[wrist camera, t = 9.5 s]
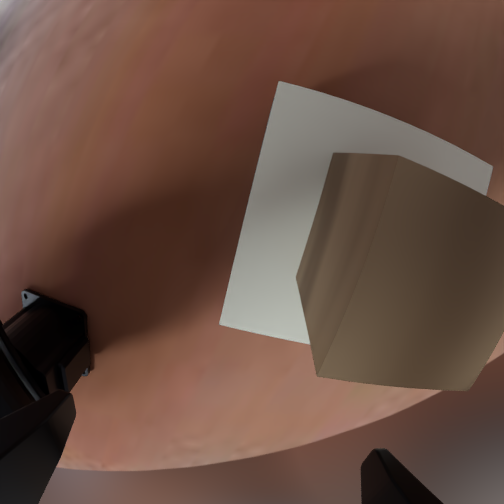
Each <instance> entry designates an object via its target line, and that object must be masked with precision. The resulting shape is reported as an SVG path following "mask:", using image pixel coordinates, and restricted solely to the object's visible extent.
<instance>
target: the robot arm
mask: <svg viewBox="0 0 504 504" xmlns="http://www.w3.org/2000/svg"><path fill="white" fill-rule="evenodd" d="M22 303H23V309H22V310H21V311H19V312H18V313H17V314H16V315H14V316H13V317H12V318H11V319H9V320H8V321H7V322H6V323H4V324H2V322H1V320H0V504H38V503H39V501H40V499H41V497H42V495H43V493H44V490H45V488H46V486H47V484H48V482H49V480H50V478H51V476H52V474H53V472H54V470H55V468H56V466H57V464H58V462H59V460H60V458H61V455H62V453H63V450H64V447H65V444H66V441H67V439H68V436H69V433H70V431H71V428H72V425H73V423H74V420H75V417H76V409H75V404H74V399H73V395H72V394H71V393H69V392H70V391H71V390H72V388H73V387H74V385H75V384H76V383H77V381H78V380H79V378H80V377H81V376H87V375H88V374H89V373H90V366H89V365H90V363H91V362H90V348H89V339H88V337H87V316H86V313H85V312H84V311H83V310H81V309H78V308H75V307H73V306H70V305H67V304H65V303H62V302H59V301H57V300H54V299H52V298H49V297H46V296H44V295H41V294H39V293H36V292H34V291H32V290H29V289H25V290H24V291H22ZM79 315H80V316H81V318H80V317H79ZM361 497H362V504H443V503H442V502H441V501H440V500H439V499H438V498H437V497H436V496H435V495H434V494H432V492H431V491H429V490H428V489H427V488H426V487H425V486H424V485H423V484H422V483H421V482H420V481H419V480H418V479H417V478H416V477H415V476H414V475H413V474H412V473H411V472H410V471H409V470H408V469H407V468H405V466H404V465H402V464H401V463H400V462H399V461H398V460H397V459H396V458H395V457H394V456H393V455H392V454H391V453H390V452H389V451H388V450H387V449H385V448H376V449H373V450H372V451H371V452H370V454H369V455H368V456H367V458H366V459H365V460H364V461H363V463H362V465H361Z"/></svg>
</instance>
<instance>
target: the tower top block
mask: <svg viewBox="0 0 504 504" xmlns="http://www.w3.org/2000/svg"><path fill="white" fill-rule="evenodd" d="M333 153H365V154H385V155H399V156H402V157H404V158H407V159H409V160H411V161H414V162H416V163H418V164H421V165H423V166H425V167H428V168H430V169H432V170H434V171H436V172H439V173H441V174H443V175H445V176H447V177H449V178H451V179H453V180H456V181H458V182H460V183H462V184H464V185H466V186H468V187H470V188H472V189H474V190H475V191H477V192H479V193H481V194H483V195H485V196H486V194H487V190H488V186H489V182H490V178H491V174H492V169H493V166H491V165H490V164H488V163H486V162H484V161H483V160H481V159H479V158H477V157H475V156H474V155H472V154H470V153H468V152H466V151H464V150H462V149H461V148H459V147H457V146H455V145H453V144H451V143H449V142H447V141H445V140H443V139H441V138H439V137H436V136H434V135H432V134H430V133H428V132H426V131H424V130H421V129H419V128H417V127H415V126H412V125H410V124H408V123H405V122H403V121H400V120H398V119H396V118H393V117H391V116H388V115H386V114H383V113H380V112H378V111H375V110H373V109H370V108H367V107H364V106H362V105H359V104H356V103H353V102H350V101H347V100H344V99H341V98H338V97H335V96H332V95H328V94H325V93H322V92H318V91H315V90H312V89H308V88H304V87H301V86H297V85H293V84H289V83H286V82H281V81H279V82H278V86H277V90H276V94H275V98H274V101H273V105H272V109H271V113H270V117H269V121H268V125H267V129H266V133H265V137H264V141H263V144H262V148H261V152H260V156H259V160H258V164H257V168H256V172H255V176H254V180H253V185H252V189H251V193H250V197H249V201H248V205H247V209H246V213H245V217H244V221H243V225H242V230H241V234H240V238H239V242H238V246H237V250H236V255H235V259H234V263H233V267H232V271H231V276H230V280H229V284H228V288H227V293H226V297H225V301H224V306H223V310H222V314H221V319H220V323H219V325H223V326H227V327H231V328H236V329H240V330H244V331H248V332H253V333H257V334H262V335H266V336H271V337H276V338H281V339H285V340H290V341H295V342H300V343H306V344H310V341H309V336H308V331H307V327H306V322H305V317H304V313H303V308H302V304H301V299H300V295H299V290H298V286H297V281H296V274H297V271H298V268H299V265H300V262H301V259H302V256H303V253H304V249H305V246H306V243H307V240H308V237H309V233H310V230H311V227H312V224H313V220H314V217H315V214H316V210H317V207H318V204H319V200H320V197H321V193H322V190H323V187H324V183H325V180H326V176H327V173H328V169H329V165H330V162H331V158H332V155H333Z"/></svg>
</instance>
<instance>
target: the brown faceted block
mask: <svg viewBox="0 0 504 504" xmlns="http://www.w3.org/2000/svg"><path fill="white" fill-rule="evenodd" d="M296 281H297V286H298V290H299V295H300V299H301V304H302V308H303V313H304V317H305V322H306V327H307V331H308V336H309V341H310V345H311V350H312V355H313V360H314V365H315V370H316V375H317V377H323V378H330V379H337V380H344V381H351V382H358V383H366V384H375V385H384V386H394V387H405V388H417V389H433V390H454V391H468V390H469V389H470V388H471V386H472V385H473V383H474V381H475V380H476V378H477V377H478V375H479V374H480V372H481V370H482V369H483V367H484V366H485V364H486V362H487V361H488V359H489V357H490V356H491V354H492V352H493V350H494V349H495V347H496V345H497V343H498V341H499V339H500V338H501V336H502V334H503V332H504V206H503V205H501V204H500V203H498V202H496V201H494V200H492V199H490V198H489V197H487V196H485V195H483V194H481V193H479V192H477V191H475V190H474V189H472V188H470V187H468V186H466V185H464V184H462V183H460V182H458V181H456V180H453V179H451V178H449V177H447V176H445V175H443V174H441V173H439V172H436V171H434V170H432V169H430V168H428V167H425V166H423V165H421V164H418V163H416V162H414V161H411V160H409V159H407V158H404V157H402V156H399V155H385V154H365V153H333V155H332V158H331V162H330V165H329V169H328V173H327V176H326V180H325V183H324V187H323V190H322V193H321V197H320V200H319V204H318V207H317V210H316V214H315V217H314V220H313V224H312V227H311V230H310V233H309V237H308V240H307V243H306V246H305V249H304V253H303V256H302V259H301V262H300V265H299V268H298V271H297V274H296Z"/></svg>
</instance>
